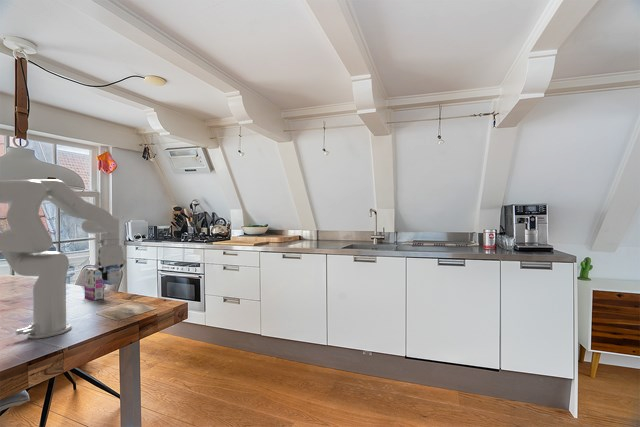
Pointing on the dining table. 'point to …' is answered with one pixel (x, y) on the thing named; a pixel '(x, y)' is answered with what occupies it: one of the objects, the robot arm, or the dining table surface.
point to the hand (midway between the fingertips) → (110, 278)
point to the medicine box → (112, 275)
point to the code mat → (126, 311)
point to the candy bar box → (93, 284)
